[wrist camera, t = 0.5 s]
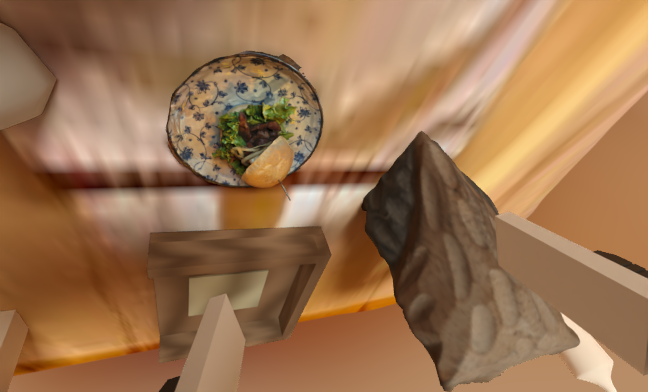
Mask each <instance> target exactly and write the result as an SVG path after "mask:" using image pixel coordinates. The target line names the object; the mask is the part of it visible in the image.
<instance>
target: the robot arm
mask: <svg viewBox="0 0 648 392" xmlns="http://www.w3.org/2000/svg"><path fill="white" fill-rule="evenodd" d="M495 226H496V239H497V252H498V264H499V266H500V267H502V268H503V269H504V270H506V271H507V272H508V273H510V274H511V275H512V276H514V277H515V278H516V279H518V280H519V281H520V282H522V283H523V284H524V285H525V286H527V287H528V288H529V289H531V290H532V291H533V292H535V293H536V294H537V295H539V296H540V297H541V298H543V299H544V300H545V301H547V302H548V303H549V304H550V305H552V306H553V307H554V308H556V309H557V310H558V311H560V312H561V313H562V314H564V315H565V316H566V317H568V318H569V319H570V320H572V321H573V322H574V323H575V324H577V325H578V326H579V327H581V328H582V329H583V330H585V331H586V332H587V333H589V334H590V335H591V336H593V337H594V338H595V339H597V340H598V341H599V342H601V343H602V344H603V345H605V346H606V347H607V348H608V349H610V350H611V351H612V352H614V353H615V354H616V355H618V356H619V357H620V358H622V359H623V360H624V361H626V362H627V363H628V364H630V365H631V366H632V367H634V368H635V369H636V370H637V371H639V372H640V373H641V374H643V375H646V374H648V271H646V270H645V268H643V267H640V266H638V265H636V264H634V265H633V264H632V262H630V261H627V260H625V259H623V258H621V257H619V256H617V255H613V254H609V253H605V252H602V251H598V250H597V251H594V252H592V251H590V250H588V249H586V248H583V247H582V246H579V245H577V244H575V243H573V242H571V241H569V240H567V239H565V238H563V237H561V236H559V235H557V234H555V233H553V232H550V231H548V230H547V229H544V228H542V227H540V226H538V225H536V224H534V223H532V222H530V221H528V220H526V219H524V218H522V217H520V216H518V215H516V214H514V213H512V212H507V213H503V214H500V215H496V216H495ZM244 346H245V338H244V335H243V333H242V330H241V328H240V326H239V323H238V321H237V318H236V316H235V314H234V311H233V309H232V306H231V304H230V301H229V299H228V297H227V294H223V295H219V296H216V297H212V298H210V299H209V302H208V304H207V307H206V310H205V312H204V315H203V318H202V320H201V323H200V326H199V328H198V331H197V334H196V336H195V339H194V342H193V344H192V347H191V350H190V352H189V355H188V358H187V360H186V363H185V366H184V368H183V371H182V373H181V376H178V377H175V378H172V379H169V380H167V382H166V383H165V384H164V386H163V387H162V388H161V390H160V391H159V392H237V390H238V383H239V377H240V371H241V365H242V359H243V352H244Z"/></svg>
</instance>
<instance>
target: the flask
mask: <svg viewBox="0 0 648 392" xmlns="http://www.w3.org/2000/svg"><path fill="white" fill-rule="evenodd" d="M56 80H57V79H56V78H55V76H54V75H53V74H52V73H51V72H50V71H49V69H48V68H47V67H46V66H45V65H44V64H43V63H42V61H41V60H40V59H39V58H38V57H37V56H36V54H35V53H34V52H33V51H32V50H31V49H30V47H29V46H28V45H27V44H26V43H25V42H24V41H23V39H22V38H21V37H20V36H19V35H18V34H17V32H16V31H15V30H14V29H12V28H10V27H8V26H6V25H4V24H2V23H0V130H3V129H6V128H8V127H11V126H14V125H16V124H19V123H22V122H24V121H27V120H29V119H32V118H34V117H37V116H39V115H41V114H42V113H43V110H44V108H45V106H46V103H47V101H48V99H49V96H50V94H51V92H52V89H53V87H54V84H55V82H56Z"/></svg>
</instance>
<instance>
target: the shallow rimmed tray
mask: <svg viewBox="0 0 648 392" xmlns="http://www.w3.org/2000/svg"><path fill="white" fill-rule="evenodd" d="M330 257H331V252H330V250H329V247H328V244H327V242H326V239H325V236H324V234H323V231H322V228H321V226H317V227H291V228H266V229H240V230H214V231H188V232H162V233H150V243H149V253H148V263H147V275H148V279H150V278H154V287H155V296H156V305H157V313H158V322H159V331H160V347H159V363H164V362H169V361H174V360H179V359H185V358H188V355H189V352H190V350H191V347H192V344H193V342H194V339H195V336H196V334H197V331H198V328H199V326H200V323H201V320H202V318H203V315H204V312H205V310H206V307H207V304H208V302H209V299H210V298H212V297H216V296H219V295H223V294H227V297H228V299H229V301H230V304H231V306H232V309H233V311H234V314H235V316H236V318H237V321H238V323H239V326H240V328H241V330H242V333H243V335H244V338H245V346H244V347H247V346H253V345H258V344H263V343H268V342H274V341H279V340H284V339H289V338H290V335H291V334H292V332H293V330H294V328H295V326H296V324H297V322H298V320H299V318H300V316H301V314H302V312H303V310H304V308H305V306H306V304H307V302H308V300H309V298H310V296H311V294H312V292H313V290H314V288H315V286H316V284H317V282H318V281H319V279H320V277H321V275H322V273H323V271H324V269H325V267H326V265H327V263H328V261H329V259H330Z"/></svg>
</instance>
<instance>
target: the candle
mask: <svg viewBox="0 0 648 392" xmlns="http://www.w3.org/2000/svg"><path fill="white" fill-rule="evenodd" d="M561 315H562V317H563V319H564V322H565V323H566V324H567V326H569V327H570V328H571V329H572V330H573V331H574V332H575V333H576V334H577V335H578V337H579V339H580V344H579V345H578V346H577V347H575V348H571V349H568V350H565V351H563V352H561V353H557V354H558V355H559V357H560V358H561V359H562V361H563V362H564V363H565V364H566V366H567V367H568V368H569V370H570V371H571V373H572V374H573V375H574V376H575V377H576V378H578V379H581V380H585V381H589V382H592V383H595V384H597V385H598V386H600V387H601V388H602V389H604V390H605V391H606V392H617V391H616V389H615V388H614V386H613V384H612V380H611V371H612V367H613V361H612V359H611V358H610V357H609V356H608V355H607V354H606V352H605V351H604V350H603V349H602V348H601V347H600V345H599V344H598V343H597V342H596V341H595V340H594V338H593V337H592V336H591V335H590V334H589V333H587V332H586V331H585V330H583V329H582V328H581V327H579V326H578V325H577V324H575V323H574V322H573V321H572V320H570V319H569V318H568V317H566V316H565V315H564V314H562V313H561Z"/></svg>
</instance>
